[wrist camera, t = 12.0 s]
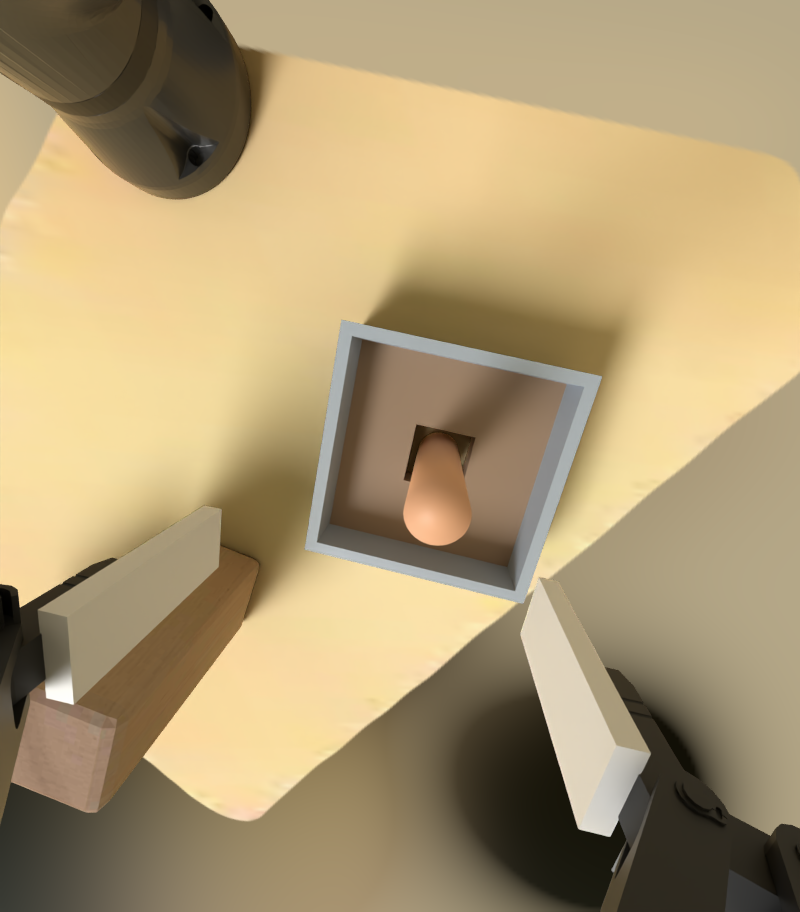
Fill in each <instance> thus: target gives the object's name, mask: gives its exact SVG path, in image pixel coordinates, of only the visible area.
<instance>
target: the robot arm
mask: <svg viewBox="0 0 800 912" xmlns="http://www.w3.org/2000/svg"><path fill="white" fill-rule="evenodd" d="M0 73H1V74H2V75H4V76H6V77H7V78H9V79H10V80H12V81H13V82H15V83H16V84H18V85H20V86H21V87H23V88H24V89H26V90H28V91H29V92H31V93H32V94H34V95H35V96H37V97H38V98H40V99H41V100H43V101H44V102H46V103H47V104H48V105H50V106H51V107H52V108H53V109H54V110H55V111H56V112H57V113H58V115H59V116H60V117H61V118H62V119H63V120H64V121H65V122H66V124H67V125H68V126H69V127H70V128H71V129H72V130H73V131H74V132H75V133H76V135H77V136H78V137H79V138H80V139H81V140H82V141H83V142H84V143H85V144H86V145H87V146H88V147H89V148H90V150H91V151H92V152H93V153H94V155H95V156H96V157H97V158H98V159H99V160H100V161H101V162H102V163H103V164H104V165H105V166H106V167H108V168H109V169H110V170H111V171H112V172H114V173H115V174H116V175H118V176H119V177H121V178H122V179H124V180H126V181H127V182H129V183H131V184H132V185H134V186H136V187H138V188H139V189H141V190H143V191H145V192H147V193H149V194H151V195H154V196H157V197H161V198H166V199H187V198H192V197H195V196H198V195H201V194H203V193H205V192H207V191H209V190H210V189H212V188H213V187H215V186H216V185H217V184H219V183H220V182H221V181H222V180H223V179H224V178H225V177H226V176H227V175H228V173H229V172H230V171H231V169H232V168H233V166H234V165H235V163H236V162H237V160H238V158H239V156H240V154H241V152H242V149H243V147H244V144H245V141H246V137H247V133H248V129H249V123H250V114H251V95H250V85H249V79H248V74H247V70H246V67H245V63H244V60H243V57H242V55H241V52H240V50H239V48H238V45H237V43H236V42H235V40H234V38H233V36H232V35H231V33H230V31H229V30H228V28H227V26H226V25H225V23H224V22H223V20H222V19H221V17H220V15H219V14H218V12H217V11H216V9H215V8H214V7H213V5H212V4H211V3H210V1H209V0H0ZM221 516H222V509H219V508H215V507H210V506H205V505H204V506H202V507H201V508H199V509H197V510H196V511H194V512H193V513H191V514H189V515H188V516H186V517H185V518H183V519H182V520H180V521H178V522H177V523H175V524H174V525H172V526H170V527H169V528H167V529H166V530H164V531H162V532H161V533H159V534H158V535H156V536H154V537H153V538H151V539H150V540H148V541H147V542H145V543H143V544H142V545H140V546H139V547H137V548H135V549H134V550H132V551H131V552H129V553H127V554H126V555H124V556H123V557H121V558H119V559H115V558H110V559H107V560H104V561H102V562H99V563H96V564H93V565H91V566H89V567H88V568H86V569H84V570H83V571H81V572H79V573H78V574H76V576H75V577H74V576H73V577H71V578H69V579H68V580H66V581H64V582H63V584H62V585H60V584H59V585H58V586H56V587H54V588H53V589H51V590H49V591H48V592H46V593H44V594H43V595H41V596H39V597H38V598H36V599H34V600H33V601H31V602H29V603H27V604H26V605H24V606H22V607H21V608H20V607H19V598H18V590H17V589H16V588H14V587H13V586H9V585H2V584H0V824H1V820H2V815H3V812H4V808H5V803H6V799H7V795H8V791H9V787H10V783H11V779H12V775H13V771H14V767H15V763H16V759H17V755H18V751H19V747H20V743H21V739H22V735H23V731H24V727H25V723H26V719H27V715H28V710H29V706H30V694H29V693H30V692H31V691H32V690H33V689H35V688H36V687H37V686H38V685H39V684H41V683H42V682H43V681H44V680H45V690H46V698H48V699H52V700H56V701H60V702H64V703H68V704H72V705H74V704H75V703H76V702H77V701H78V700H79V699H80V698H81V697H82V696H84V695H85V694H86V693H87V692H88V691H89V690H90V689H91V688H92V687H93V686H94V685H95V684H96V683H97V682H98V681H99V680H100V679H101V678H102V677H104V676H105V675H106V674H107V673H108V672H109V671H110V670H111V669H112V668H113V667H114V666H115V665H116V664H117V663H118V662H119V661H120V660H121V659H122V658H123V657H125V656H126V655H127V654H128V653H129V652H130V651H131V650H132V649H133V648H134V647H135V646H136V645H137V644H138V643H139V642H140V641H141V640H142V639H143V638H145V637H146V636H147V635H148V634H149V633H150V632H151V631H152V630H153V629H154V628H155V627H156V626H157V625H158V624H159V623H160V622H161V621H162V620H163V619H164V618H166V617H167V616H168V615H169V614H170V613H171V612H172V611H173V610H174V609H175V608H176V607H177V606H178V605H179V604H180V603H181V602H182V601H183V600H184V599H186V598H187V597H188V596H189V595H190V594H191V593H192V592H193V591H194V590H195V589H196V588H197V587H198V586H199V585H200V584H201V583H202V582H203V581H204V580H205V579H207V578H208V577H209V576H210V575H211V574H212V573H213V572H214V571H215V570H216V569H217V568H218V567H219V552H220V534H221ZM520 634H521V638H522V641H523V645H524V648H525V651H526V655H527V658H528V661H529V665H530V668H531V671H532V675H533V678H534V682H535V685H536V688H537V691H538V695H539V698H540V701H541V705H542V708H543V712H544V715H545V718H546V721H547V725H548V728H549V731H550V735H551V738H552V742H553V745H554V748H555V752H556V755H557V759H558V762H559V765H560V768H561V772H562V775H563V779H564V782H565V785H566V788H567V791H568V795H569V799H570V802H571V805H572V809H573V812H574V815H575V819H576V822H577V825H578V829H581V830H585V831H589V832H593V833H597V834H601V835H605V836H609V837H610V836H611V834H612V832H613V830H614V828H615V826H616V824H617V822H618V820H619V821H620V824H621V826H622V829H623V831H624V834H625V837H626V839H627V841H626V843H625V845H624V847H623V849H622V851H621V853H620V854H619V857H618V859H617V860H616V862H615V864H614V866H613V868H612V871H613V872H614V874H613V877H612V880H611V882H610V885H609V888H608V891H607V894H606V897H605V899H604V902H603V905H602V908H601V911H600V912H800V829H799V828H797V827H795V826H793V825H786V824H780V825H779V826H778V827H777V828H776V829H775V830H774V832H773V833H772V835H771V836H770V835H768V834H765V833H764V832H762V831H760V830H758V829H756V828H754V827H752V826H750V825H749V824H747V823H745V822H743V821H741V820H739V819H737V818H735V817H733V816H732V815H730V814H729V813H728V811H727V809H726V808H725V806H724V804H723V803H722V802H721V801H720V799H719V798H718V797H717V796H716V795H715V793H714V792H713V791H712V790H710V789H709V788H708V787H707V786H706V785H705V784H704V783H703V782H701V781H700V780H699V779H697V778H696V777H694V776H692V775H691V774H689V773H688V772H686V771H684V770H683V768H682V766H681V765H680V763H679V761H678V760H677V758H676V756H675V755H674V753H673V751H672V750H671V748H670V746H669V745H668V743H667V741H666V739H665V738H664V736H663V734H662V733H661V731H660V729H659V728H658V726H657V724H656V723H655V721H654V720H653V719H651V714H650V713H649V711H648V709H647V708H646V706H645V705H643V701H642V699H641V698H640V696H639V694H638V693H637V691H636V689H635V688H634V686H633V685H632V684H631V683H630V682H629V681H628V680H627V679H626V678H625V677H624V676H623V675H622V674H621V672H620V671H618V670H615V669H610V668H606V667H604V666H603V664H602V662H601V660H600V658H599V656H598V654H597V652H596V651H595V649H594V647H593V645H592V643H591V641H590V640H589V638H588V636H587V634H586V632H585V630H584V628H583V626H582V625H581V623H580V621H579V619H578V617H577V615H576V614H575V612H574V610H573V608H572V606H571V604H570V602H569V600H568V599H567V597H566V595H565V593H564V591H563V589H562V587H561V586H560V584H559V582H558V581H555V580H550V579H546V578H541V577H539V578H538V581H537V584H536V587H535V590H534V593H533V596H532V600H531V603H530V606H529V609H528V612H527V615H526V618H525V621H524V624H523V627H522V630H521V633H520Z"/></svg>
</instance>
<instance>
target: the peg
mask: <svg viewBox="0 0 800 912" xmlns="http://www.w3.org/2000/svg"><path fill="white" fill-rule="evenodd" d="M403 515H404V521H405V524H406V526H407V528H408V530H409V531H410V533H411V534H412V535H413V536H414V537H415V538H417V539H418V540H420V541H421V542H424V543H426V544H429V545H437V546H440V545H447V544H450V543H453V542H455V541H457V540H458V539H460V538H461V537H462V536H463V535H464V534H465V533H466V531H467V530H468V528H469V526H470V523H471V518H472V511H471V506H470V501H469V497H468V492H467V488H466V483H465V479H464V474H463V470H462V465H461V460H460V456H459V451H458V447H457V444H456V442H455V441H454V439H453V438H452V437H450V436H449V435H447V434H445V433H439V432H437V433H432V434H429V435H427V436H426V437H425V438H424V439H423V440H422V441H421V443H420V445H419V448H418V452H417V456H416V460H415V464H414V469H413V473H412V477H411V481H410V485H409V489H408V493H407V497H406V501H405V505H404V511H403Z"/></svg>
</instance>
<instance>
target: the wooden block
mask: <svg viewBox="0 0 800 912" xmlns="http://www.w3.org/2000/svg"><path fill="white" fill-rule="evenodd" d="M258 570H259V563H258V562H257V561H256V560H255V559H252V558H250V557H247V556H245V555H242V554H240V553H237V552H235V551H233V550H230V549H228V548H225V547H223V546H220V552H219V567H218V568H217V569H216V570H215V571H214V572H213V573H212V574H211V575H210V576H209V577H208V578H207V579H205V580H204V581H203V582H202V583H201V584H200V585H199V586H198V587H197V588H196V589H195V590H194V591H193V592H192V593H191V594H190V595H189V596H188V597H187V598H186V599H184V600H183V601H182V602H181V603H180V604H179V605H178V606H177V607H176V608H175V609H174V610H173V611H172V612H171V613H170V614H169V615H168V616H167V617H166V618H164V619H163V620H162V621H161V622H160V623H159V624H158V625H157V626H156V627H155V628H154V629H153V630H152V631H151V632H150V633H149V634H148V635H147V636H146V637H145V638H143V639H142V640H141V641H140V642H139V643H138V644H137V645H136V646H135V647H134V648H133V649H132V650H131V651H130V652H129V653H128V654H127V655H126V656H125V657H123V658H122V659H121V660H120V661H119V662H118V663H117V664H116V665H115V666H114V667H113V668H112V669H111V670H110V671H109V672H108V673H107V674H106V675H105V676H104V677H102V678H101V679H100V680H99V681H98V682H97V683H96V684H95V685H94V686H93V687H92V688H91V689H90V690H89V691H88V692H87V693H86V694H85V695H84V696H82V697H81V698H80V699H79V700H78V701H77V702H76V703H75V704H74V705H72V704H68V703H64V702H60V701H56V700H52V699H48V698H46V690H45V680H44V681H43V682H42V683H41V684H39V685H38V686H37V687H36V688H35V689H33V690H32V691H31V692H30V693H29V694H30V706H29V710H28V715H27V719H26V723H25V727H24V731H23V735H22V739H21V743H20V747H19V751H18V755H17V759H16V763H15V767H14V771H13V775H12V779H11V782H13V783H15V784H18V785H20V786H23V787H26V788H28V789H30V790H33V791H35V792H38V793H40V794H42V795H45V796H48V797H50V798H52V799H55V800H57V801H60V802H62V803H65V804H67V805H70V806H72V807H75V808H77V809H79V810H82V811H85V812H87V813H88V812H89V813H90V812H97V811H98V810H99V809H100V808H102V807H103V806H104V805H105V804H106V803H107V802H109V800H111V798H112V797H113V796H114V794H115V793H116V791H117V790H118V789H119V788H120V786H121V785H122V783H123V782H124V781H125V780H126V778H127V777H128V776H129V774H130V773H131V772H132V770H133V769H134V768H135V766H136V765H137V764H138V762H139V761H140V760H141V759H142V757H143V756H144V755H145V753H146V752H147V751H148V749H149V748H150V747H151V745H152V744H153V743H154V741H155V740H156V739H157V737H158V736H159V735H160V733H161V732H162V731H163V729H164V728H165V727H166V725H167V724H168V723H169V721H170V720H171V719H172V717H173V716H174V715H175V713H176V712H177V711H178V709H179V708H180V707H181V705H182V704H183V703H184V701H185V700H186V699H187V697H188V696H189V695H190V694H191V692H192V691H193V690H194V688H195V687H196V686H197V684H198V683H199V682H200V680H201V679H202V678H203V676H204V675H205V674H206V672H207V671H208V670H209V668H210V667H211V666H212V664H213V663H214V662H215V660H216V659H217V658H218V656H219V655H220V654H221V652H222V651H223V650H224V648H225V647H226V646H227V644H228V643H229V642H230V640H231V639H232V638H233V636H234V635H235V634H236V632H237V631H238V630H239V628H240V627H241V625H242V622H243V619H244V615H245V612H246V609H247V606H248V603H249V599H250V596H251V593H252V590H253V587H254V584H255V580H256V577H257V574H258Z"/></svg>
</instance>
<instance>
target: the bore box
mask: <svg viewBox="0 0 800 912" xmlns="http://www.w3.org/2000/svg"><path fill="white" fill-rule="evenodd" d="M601 379H602V376H598V375H594V374H589V373H584V372H580V371H575V370H571V369H566V368H561V367H557V366H552V365H548V364H543V363H538V362H534V361H529V360H525V359H520V358H515V357H511V356H506V355H502V354H497V353H492V352H488V351H483V350H479V349H474V348H469V347H465V346H460V345H456V344H451V343H446V342H442V341H437V340H432V339H428V338H423V337H419V336H414V335H409V334H405V333H400V332H396V331H391V330H386V329H382V328H377V327H373V326H368V325H363V324H359V323H354V322H350V321H345V320H341V326H340V332H339V339H338V345H337V351H336V357H335V363H334V370H333V376H332V382H331V388H330V394H329V401H328V407H327V413H326V419H325V426H324V432H323V438H322V444H321V450H320V457H319V463H318V469H317V475H316V481H315V488H314V494H313V500H312V506H311V512H310V519H309V525H308V531H307V537H306V543H305V550H308V551H312V552H316V553H321V554H325V555H329V556H333V557H337V558H341V559H345V560H349V561H353V562H357V563H361V564H365V565H369V566H373V567H377V568H381V569H385V570H389V571H393V572H397V573H401V574H405V575H409V576H413V577H417V578H421V579H425V580H429V581H433V582H437V583H441V584H445V585H450V586H454V587H458V588H462V589H466V590H470V591H474V592H478V593H482V594H486V595H490V596H494V597H498V598H502V599H506V600H510V601H514V602H518V603H522V604H523V603H524V600H525V597H526V594H527V592H528V589H529V586H530V583H531V580H532V577H533V574H534V571H535V569H536V566H537V563H538V560H539V557H540V554H541V551H542V549H543V546H544V543H545V540H546V537H547V534H548V531H549V528H550V526H551V523H552V520H553V517H554V514H555V511H556V508H557V505H558V503H559V500H560V497H561V494H562V491H563V488H564V485H565V482H566V480H567V477H568V474H569V471H570V468H571V465H572V462H573V459H574V457H575V454H576V451H577V448H578V445H579V442H580V439H581V436H582V434H583V431H584V428H585V425H586V422H587V419H588V416H589V414H590V411H591V408H592V405H593V402H594V399H595V396H596V393H597V391H598V388H599V385H600V382H601ZM417 424H418V425H422V426H427V427H431V428H435V429H440V430H444V431H448V432H453V433H457V434H462V435H466V436H470V437H471V440H470V444H469V447H468V451H467V455H466V459H465V462H464V466H463V474H464V479H465V483H466V488H467V492H468V497H469V501H470V506H471V511H472V518H471V523H470V526H469V528H468V530H467V531H466V533H465V534H464V535H463V536H462V537H461V538H460V539H458V540H457V541H455V542H453V543H450V544H447V545H440V546H437V545H429V544H426V543H424V542H421V541H420V540H418V539H417V538H415V537H414V536H413V535H412V534H411V533H410V531H409V530H408V528H407V526H406V524H405V521H404V515H403V511H404V505H405V501H406V497H407V493H408V489H409V485H410V481H411V477H412V473H411V472H407V471H406V470H407V466H408V462H409V457H410V453H411V448H412V444H413V440H414V435H415V431H416V426H417Z"/></svg>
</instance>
